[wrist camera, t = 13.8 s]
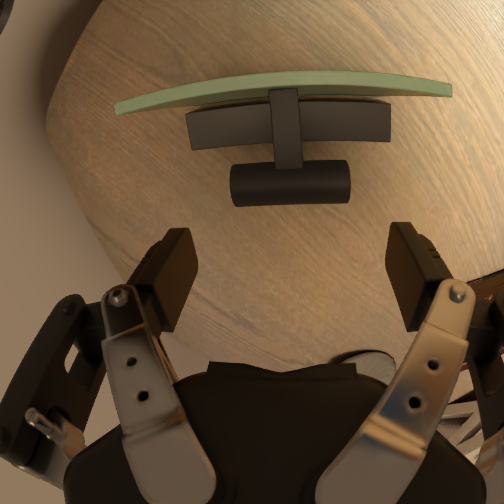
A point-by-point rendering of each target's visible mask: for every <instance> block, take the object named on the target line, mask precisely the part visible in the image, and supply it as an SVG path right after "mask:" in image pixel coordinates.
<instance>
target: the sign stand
mask: <svg viewBox="0 0 504 504" xmlns="http://www.w3.org/2000/svg"><path fill="white" fill-rule="evenodd" d="M299 110H300V123H301V137H302V141H371V142H390V138H391V104H390V103H387V102H383V101H380V100H370V99H348V98H305V99H299ZM185 116H186V121H187V127H188V133H189V138H190V144H191V149H192V151H193V150H201V149H209V148H217V147H227V146H237V145H248V144H261V143H273V135H272V124H271V114H270V104H269V100H267V101H255V102H245V103H236V104H228V105H221V106H214V107H207V108H201V109H196V110H194V111H191V112H189V113H186V114H185Z"/></svg>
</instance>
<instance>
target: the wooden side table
mask: <svg viewBox="0 0 504 504" xmlns="http://www.w3.org/2000/svg"><path fill="white" fill-rule="evenodd" d="M468 416H471V417H470V418H469V419H468V420H467V421H466V422H465V423H463V424H461V425H462V427H461V428H460V429H459V430H458V431H457V432H456V433H455V434H454V435H453V436H452V437H451V438H450V439H449V440H448V441H449V442H450V443H451V444H452V445H453V446H455V447H456V448H457V449H458V450H459V451H460V452H461V453H462V454H463V455H464V456H465V457H466V458H467V459H469V460H470V461H471V462H472V463H473V464H475V462H476V460H477V458H478V456H479V451H480V449H481V446H482V445H483V443H484V438H483V432H482V433H480V434H478V435H476V433H477V432H478V431H479V430H480V429H481V428H482V425H481V419H480V414H479V409H478V404H477V401H472V402H465V403H458V404H450V405H447V407H446V409H445V411H444V413H443V416H442V418H441V419H449V418H459V417H468ZM475 435H476V436H475Z"/></svg>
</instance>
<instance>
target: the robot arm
mask: <svg viewBox="0 0 504 504" xmlns="http://www.w3.org/2000/svg"><path fill="white" fill-rule="evenodd" d="M0 5H1V0H0ZM385 267H386V271H387V274H388V277H389V279H390V282H391V285H392V288H393V290H394V293H395V296H396V299H397V302H398V305H399V308H400V311H401V314H402V317H403V320H404V324H405V327H406V330H407V332H414V331H418V333H417V335H416V337H415V339H414V341H413V343H412V345H411V347H410V348H409V350H408V352H407V354H406V356H405V358H404V360H403V361H402V363H401V365H400V367H399V369H398V370H397V372H396V374H395V375H394V377H393V379H392V380H391V382H390V384H389V385H387V384H385V383H384V382H382V381H380V380H378V379H376V378H373V377H371V376H368V375H364V374H359V373H357V368H356V363H340V364H319V365H315V366H311V367H306V368H302V369H298V370H293V371H288V372H283V373H282V372H275V371H271V370H267V369H263V368H259V367H255V366H251V365H248V364H244V363H226V362H212V361H209V365H208V369H207V372H201V373H197V374H194V375H191V376H188V377H186V378H184V379H181V380H179V378H178V377H177V375H176V372H175V370H174V368H173V366H172V364H171V362H170V359H169V357H168V355H167V353H166V350H165V348H164V346H163V344H162V341H161V339H160V335H161V332H173V331H174V329H175V326H176V324H177V321H178V319H179V316H180V314H181V311H182V309H183V306H184V304H185V302H186V299H187V297H188V294H189V292H190V289H191V287H192V285H193V282H194V280H195V277H196V275H197V272H198V259H197V255H196V251H195V247H194V243H193V239H192V235H191V232H190V230H189V228H171V229H169V230H168V232H167V233H166V235H165V236H164V238H163V239H162V240H161V241H158V242H157V243H156V244H154V245H153V246H152V247H150V249H149V250H148V251H147V253H146V254H145V257H143V259H142V260H141V262H140V264H139V265H138V266H137V268H136V269H135V271H134V272H133V274H132V275H131V277H130V278H129V280H128V281H127V283H126V284H120V285H117V286H115V287H113V288H111V289H110V290H108V291H107V292H106V293H105V294H104V295H103V297H102V299H101V301H100V302H96V303H91V304H86V303H85V301H84V300H83V298H82V297H81V296H80V295H78V294H73V295H69V296H66V297H65V298H63V299H62V300H60V301H59V302H58V303H57V305H56V306H55V307H54V309H53V311H52V312H51V313H50V315H49V316H48V318H47V320H46V321H45V323H44V324H43V326H42V328H41V329H40V331H39V332H38V334H37V336H36V337H35V339H34V341H33V342H32V344H31V346H30V347H29V349H28V351H27V353H26V354H25V356H24V358H23V360H22V362H21V363H20V365H19V367H18V369H17V371H16V373H15V375H14V377H13V378H12V380H11V382H10V384H9V386H8V388H7V390H6V392H5V395H4V397H3V399H2V401H1V403H0V457H2V458H4V459H5V460H7V461H8V462H10V463H11V464H12V465H14V466H15V467H17V468H18V469H20V470H22V471H24V472H26V473H28V474H30V475H32V476H34V477H36V478H38V479H42V480H44V481H46V482H48V483H50V484H52V485H54V486H56V487H58V488H59V489H61V490H63V491H64V497H65V502H66V504H504V363H503V360H502V357H501V354H500V352H501V350H502V349H503V348H504V289H500V290H498V291H497V292H496V294H495V296H494V298H493V300H488V299H483V298H478V297H476V296H475V293H474V291H473V289H472V288H471V287H470V286H469V285H468V284H466V283H465V282H463V281H461V280H458V279H454V278H453V276H452V275H451V273H450V271H449V269H448V268H447V266H446V264H445V263H444V261H443V259H442V258H440V255H439V253H438V251H436V248H435V247H434V245H433V244H432V242H431V241H430V240H429V239H427V238H426V237H425V236H423V235H422V234H418V233H417V231H416V230H415V228H414V227H413V225H412V224H411V223H410V222H392V223H391V225H390V230H389V237H388V243H387V249H386V255H385ZM72 344H74V345H75V347H76V348H77V349H78V351H79V352H78V354H77V356H76V358H75V360H74V362H73V364H72V367H71V369H70V371H69V373H67V371H66V369H65V366H64V362H65V358H66V356H67V354H68V352H69V350H70V348H71V346H72ZM464 358H466V361H467V364H468V368H469V372H470V375H471V379H472V383H473V387H474V391H475V395H476V400H477V404H478V409H479V414H480V419H481V425H482V431H483V438H484V443H483V445H482V446H481V449H480V451H479V456H478V458H477V460H476V462H475V465H474V464H473V463H472V462H471V461H470V460H469V459H467V458H466V457H465V456H464V455H463V454H462V453H461V452H460V451H459V450H458V449H457V448H456V447H455V446H453V445H452V444H451V443H450V442H449V441H448V440H447V439H446V438H445V437H444V436H443V435H442V434H441V433H439V432H438V431H437V430H436V428H437V426H438V424H439V422H440V420H441V418H442V416H443V413H444V411H445V409H446V407H447V404H448V402H449V399H450V397H451V395H452V392H453V389H454V387H455V384H456V382H457V379H458V376H459V373H460V370H461V367H462V364H463V361H464ZM106 371H107V375H108V379H109V383H110V388H111V391H112V395H113V399H114V403H115V406H116V410H117V414H118V417H119V420H120V424H119V425H118V426H116V427H115V428H114V429H112V430H111V431H109V432H108V433H107V434H105V435H104V436H102V437H101V438H99V439H98V440H96V441H95V442H94V443H92V444H91V445H89V446H88V447H87V446H86V445H85V440H84V436H83V432H84V430H85V427H86V424H87V421H88V418H89V415H90V412H91V410H92V407H93V404H94V402H95V399H96V397H97V394H98V391H99V389H100V386H101V384H102V381H103V379H104V376H105V374H106Z"/></svg>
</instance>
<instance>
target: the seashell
mask: <svg viewBox="0 0 504 504" xmlns="http://www.w3.org/2000/svg"><path fill="white" fill-rule="evenodd" d="M342 363H356V368H357V373H359V374H364V375H368V376H371V377H373V378H376V379H378V380H380V381H382V382H384V383H385V384H387V385H389V384H390V382H391V380H392V379H393V377H394V375H395V372H396V366H395V363H394V361H393V359H392V358H391V357H390V356H389V355H387V354H384V353H382V352H367V353H362V354H359V355H356V356H353V357H351V358H348V359H346V360H345V361H343V362H342Z"/></svg>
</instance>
